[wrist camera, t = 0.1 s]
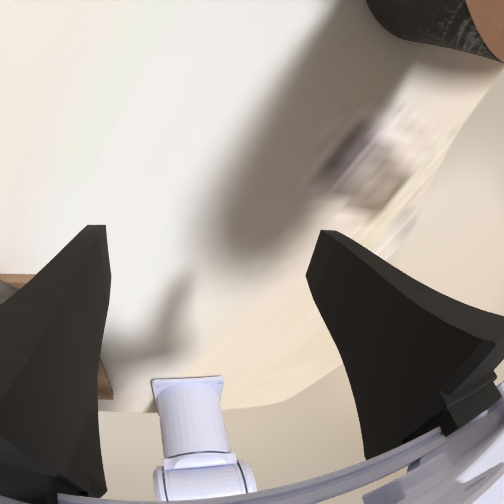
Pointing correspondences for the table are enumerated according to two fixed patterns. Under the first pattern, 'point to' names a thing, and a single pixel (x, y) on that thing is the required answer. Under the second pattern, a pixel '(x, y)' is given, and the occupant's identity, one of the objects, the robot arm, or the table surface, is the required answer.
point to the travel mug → (446, 23)
